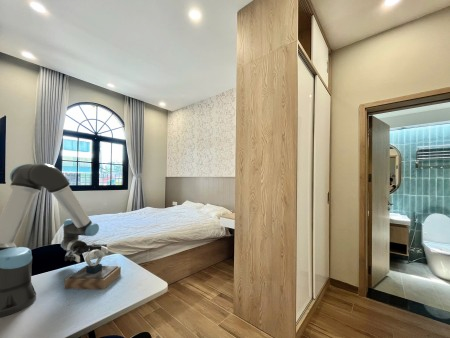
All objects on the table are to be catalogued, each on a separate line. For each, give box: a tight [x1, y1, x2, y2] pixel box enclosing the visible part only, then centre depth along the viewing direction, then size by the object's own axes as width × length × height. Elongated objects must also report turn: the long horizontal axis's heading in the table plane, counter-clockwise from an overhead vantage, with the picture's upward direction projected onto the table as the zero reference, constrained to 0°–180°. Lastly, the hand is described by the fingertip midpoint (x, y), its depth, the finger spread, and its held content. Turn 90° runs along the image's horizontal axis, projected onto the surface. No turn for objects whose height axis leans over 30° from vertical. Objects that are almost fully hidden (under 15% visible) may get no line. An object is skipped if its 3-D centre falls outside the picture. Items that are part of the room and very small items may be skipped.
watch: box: [85, 249, 104, 274], centre depth 103 cm, size 6×8×11 cm
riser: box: [64, 265, 122, 290], centre depth 102 cm, size 20×14×5 cm
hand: (94, 254), depth 104 cm, fingers open, 13 cm apart
